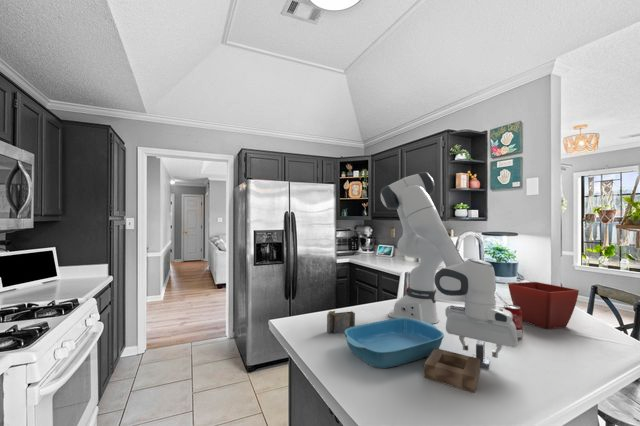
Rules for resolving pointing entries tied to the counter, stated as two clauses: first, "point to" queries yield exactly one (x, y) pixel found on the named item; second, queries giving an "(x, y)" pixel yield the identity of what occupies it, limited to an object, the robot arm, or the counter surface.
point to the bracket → (481, 354)
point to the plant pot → (544, 303)
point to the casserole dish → (393, 341)
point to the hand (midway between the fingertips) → (479, 353)
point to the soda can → (516, 318)
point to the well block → (453, 369)
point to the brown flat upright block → (340, 321)
